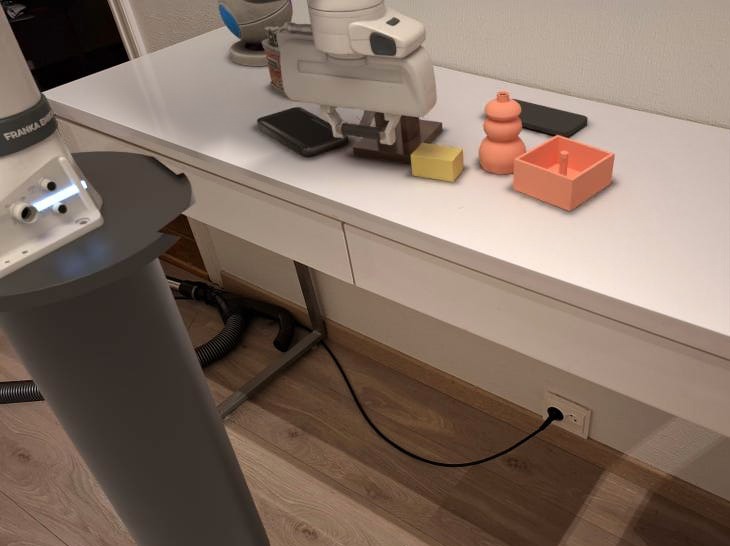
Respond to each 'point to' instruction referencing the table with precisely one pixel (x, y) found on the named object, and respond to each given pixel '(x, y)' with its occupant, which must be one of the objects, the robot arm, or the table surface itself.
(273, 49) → the lighter
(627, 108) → the table surface
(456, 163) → the butter block
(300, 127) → the phone
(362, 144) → the brown wooden frame
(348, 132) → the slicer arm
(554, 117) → the phone
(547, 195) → the pottery
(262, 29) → the webcam
